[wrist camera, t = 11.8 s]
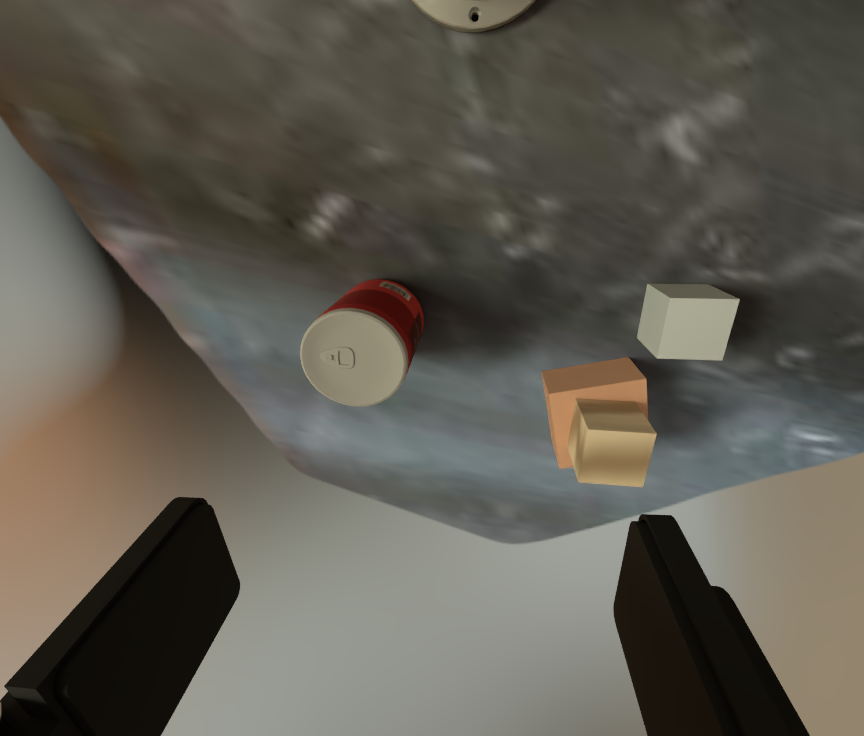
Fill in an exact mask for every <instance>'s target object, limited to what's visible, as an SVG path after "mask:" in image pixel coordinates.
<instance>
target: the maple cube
mask: <svg viewBox="0 0 864 736" xmlns="http://www.w3.org/2000/svg"><path fill="white" fill-rule="evenodd" d="M656 435H657V433H656V432H655V430H654V429H653V427H652V426H651V424H650V423H649V421H648V420H647V418H646V417H645V415H644V414H643V412H642V411H641V410H640V408H639V407H638V405H637V404H636V402H628V401H611V400H594V399H577V398H575V404H574V410H573V416H572V422H571V428H570V434H569V440H568V446H567V447H568V450H569V453H570V457H571V460H572V463H573V466H574V470H575V473H576V476H577V479H578V482H582V483H595V484H609V485H622V486H635V487H643V484H644V481H645V477H646V473H647V469H648V465H649V462H650V458H651V454H652V450H653V447H654V443H655V439H656Z"/></svg>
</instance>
